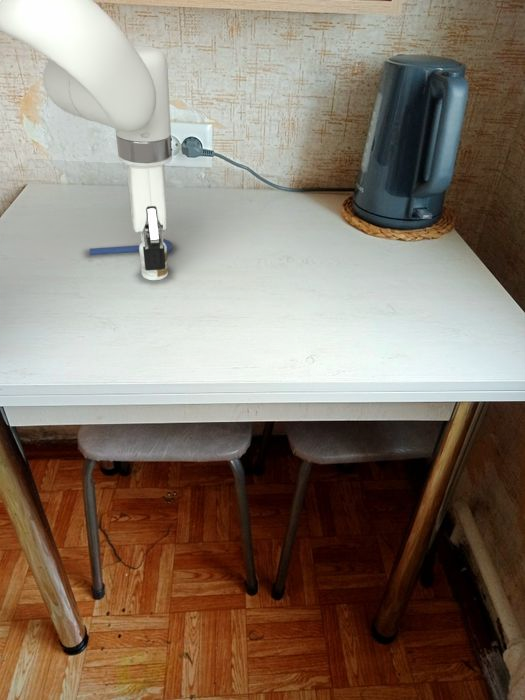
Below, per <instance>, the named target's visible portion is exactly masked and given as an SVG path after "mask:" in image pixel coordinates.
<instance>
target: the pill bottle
mask: <svg viewBox="0 0 525 700" xmlns="http://www.w3.org/2000/svg"><path fill="white" fill-rule="evenodd" d="M163 232H164V231H162V240H163V239H164V233H163ZM147 237H150V233H147ZM140 241H141V243H140V244H139V245H140V246H139V251H138V252H139V260H140V262H139V263H140V272H141V276H142V277H143V278H144V279H145V280H149V281H160V280H163V279H165V278H166V277H167V276H168V274H169V266H168V265H169V262H168V252H167V246H166V244H165V243H164V242H163V245H164V251H165V266H166V267H165V269H162V270H146V269H145V262H144V251H143V247H145V243H144V233H143V232H140Z"/></svg>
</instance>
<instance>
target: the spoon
mask: <svg viewBox="0 0 525 700" xmlns="http://www.w3.org/2000/svg"><path fill="white" fill-rule="evenodd" d="M163 242H164V243H165V244H166V246H167V253H169V252H171V250H172V243H171V241H170V240H168V239H166V238H163ZM139 246H140V244H139V245H126V246H125V245H124V246H112V247H111V246H109V247H95V248H89V255H90V256H91V255H106V254H121V253H122V254H123V253H136V252H139Z"/></svg>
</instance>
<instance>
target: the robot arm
mask: <svg viewBox="0 0 525 700" xmlns="http://www.w3.org/2000/svg"><path fill="white" fill-rule="evenodd" d="M0 32H2V34H5V35H6V36H8V37H11V38H13V40H14V39H15V40H16V41H18V42H20V43H22V44H24V45H26V46H27V47H29V48H31V49H33V50H35V51H36V52H39V53H40V54H41V55H43V56H45V57H46V58H48V60H47V62H46V64H45V65H44V70H43V74H42V80H43V82H42V83H43V86H44V90H45V91H46V95H47V96H48V97H49V99H50V100H51V101H52V103H53V104H54V105H55V106H56V107H58V108H59V109H60V110H61V111H64V112H65V113H66V114H69V115H72V116H75V117H77V118H81V119H84V120H87V121H91V122H94V123H98V124H101V125H104V126H107V127H108V128H109V127H110V128H112V129H115V137H116V148H117V155H118V160H119V161H120V162H121V163H123V164H125V165H126V177H127V178H126V179H127V188H128V197H129V207H130V214H131V222H132V228H133V231H134V233H136V234H139V233H141V232H143V233H144V243H145V247H143V251H144V262H145V269H146V270H162V269H165V267H166V266H165V251H164V245H163V240H162V232H165V231H166V230H167V222H168V221H167V220H168V219H167V187H166V170H165V169H166V168H165V165H167V164H169V163H170V162H171V161H172V160H173V152H172V151H173V147H172V129H171V127H172V126H171V109H170V106H171V105H170V88H169V87H170V86H169V84H170V83H169V67H168V60H167V57H166V55H165V53H164V52H163V51H162V50H161V49H159V48H156V47H154V46H149V45H141V44H132V42H131V41H130V39H129V38H128V37H127V35H126V34H125V33H124V32H123V30H122V29H121V27H120V26H119V25H118V24H117V23H116V22H115V20H113V18H111V16H110V15H109V14H108V13H107V12H106V11H105V10H103V8H101V6H100V5H98V3H96V2H95V0H0ZM147 233H150V237H147Z"/></svg>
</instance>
